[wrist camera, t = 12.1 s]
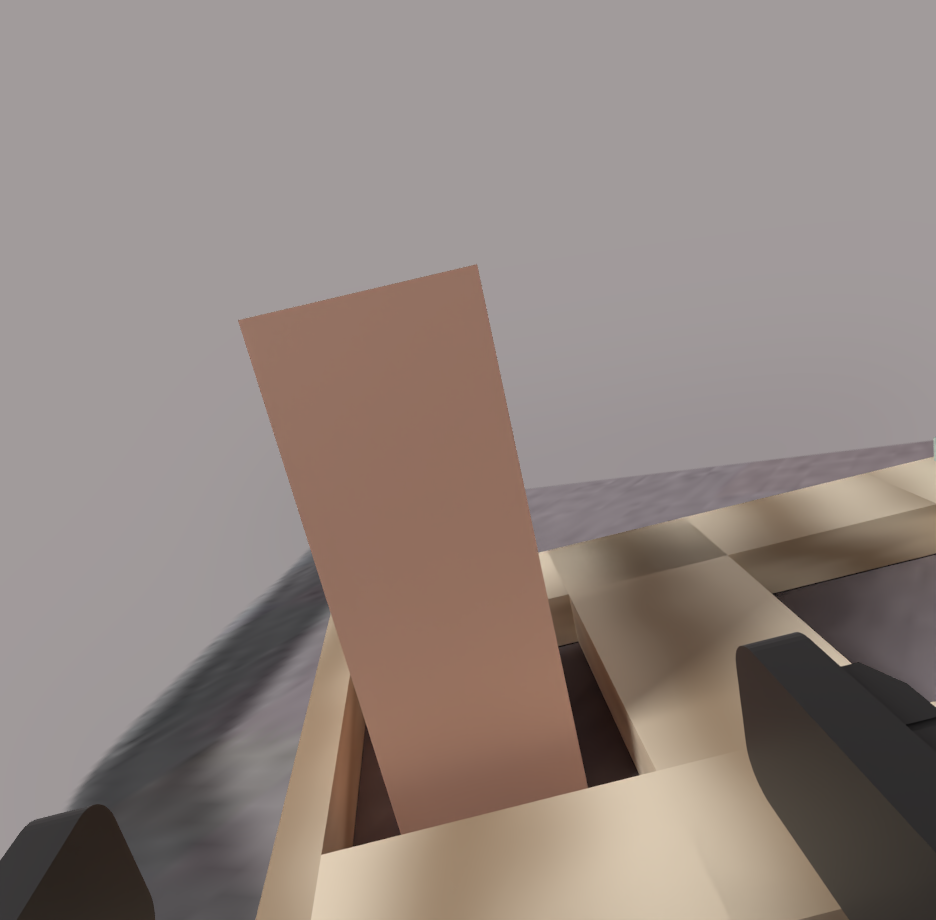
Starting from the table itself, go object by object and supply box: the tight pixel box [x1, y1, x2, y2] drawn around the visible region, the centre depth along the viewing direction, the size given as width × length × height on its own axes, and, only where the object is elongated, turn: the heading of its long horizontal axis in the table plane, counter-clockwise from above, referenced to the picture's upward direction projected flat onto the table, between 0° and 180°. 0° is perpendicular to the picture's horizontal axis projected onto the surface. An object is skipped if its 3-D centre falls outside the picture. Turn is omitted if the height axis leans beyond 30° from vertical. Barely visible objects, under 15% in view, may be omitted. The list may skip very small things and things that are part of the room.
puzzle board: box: [256, 457, 936, 920], centre depth 20 cm, size 32×17×2 cm, turn 95°
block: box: [238, 265, 588, 835], centre depth 18 cm, size 5×6×14 cm
